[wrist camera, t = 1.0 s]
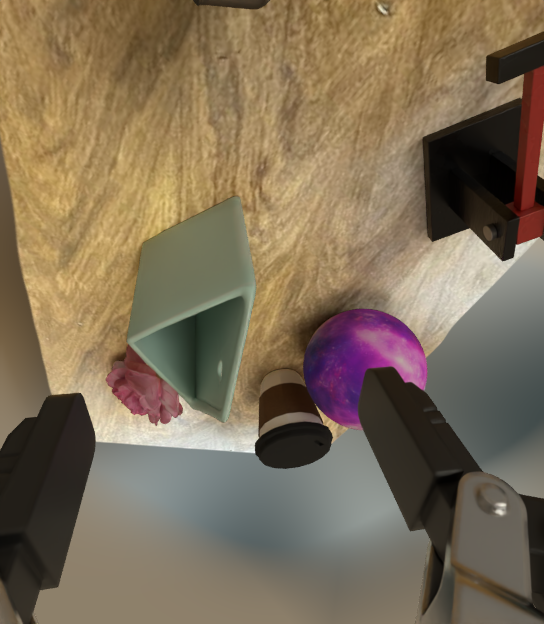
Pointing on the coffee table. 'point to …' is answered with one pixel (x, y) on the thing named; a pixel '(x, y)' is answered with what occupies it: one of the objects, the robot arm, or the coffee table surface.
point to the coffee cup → (289, 423)
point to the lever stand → (476, 178)
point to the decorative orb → (358, 360)
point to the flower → (143, 389)
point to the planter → (196, 306)
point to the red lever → (525, 126)
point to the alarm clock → (234, 3)
